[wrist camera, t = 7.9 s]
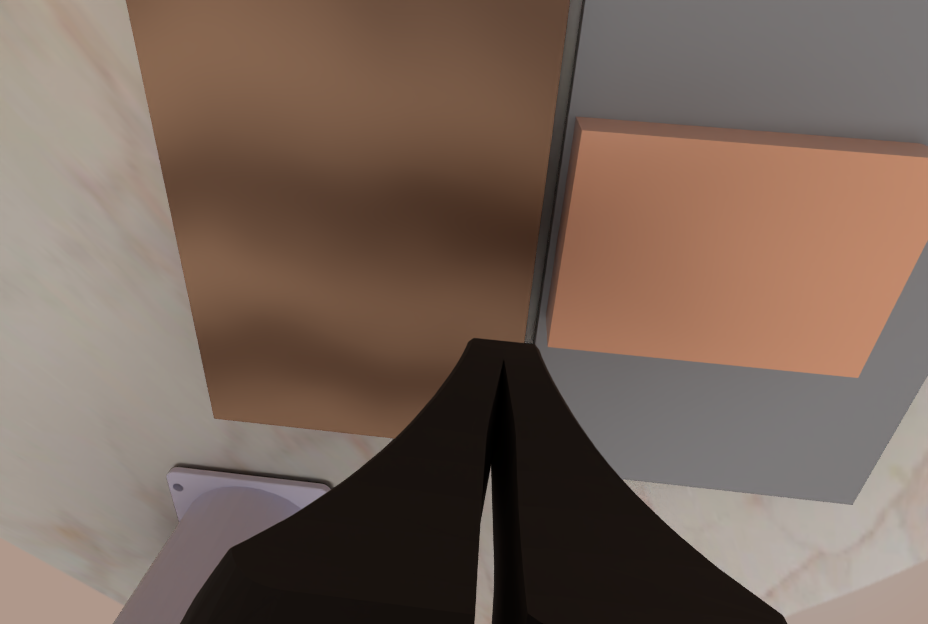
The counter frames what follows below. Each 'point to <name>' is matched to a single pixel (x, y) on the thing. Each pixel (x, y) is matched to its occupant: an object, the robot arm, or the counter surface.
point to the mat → (761, 109)
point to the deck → (350, 191)
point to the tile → (734, 244)
